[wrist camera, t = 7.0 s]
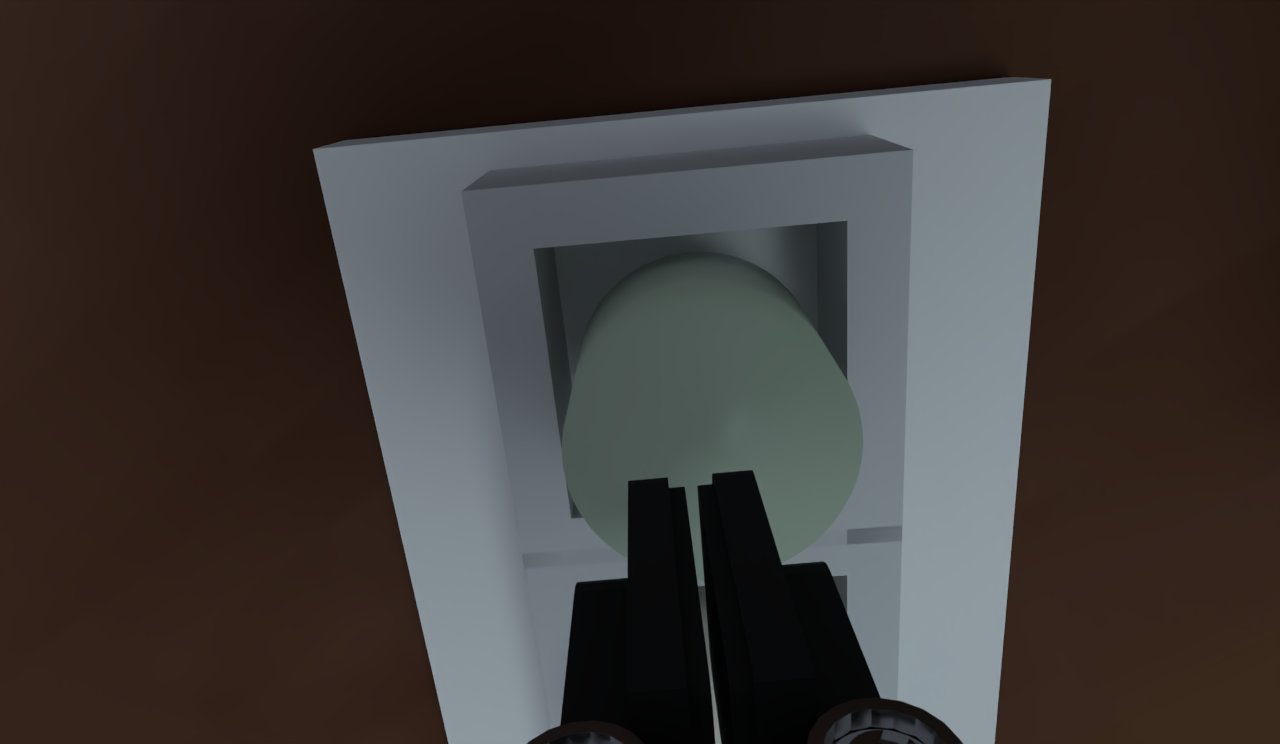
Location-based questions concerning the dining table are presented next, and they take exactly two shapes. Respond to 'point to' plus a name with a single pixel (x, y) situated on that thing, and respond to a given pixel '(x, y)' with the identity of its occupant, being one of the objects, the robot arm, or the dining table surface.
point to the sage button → (709, 400)
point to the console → (719, 223)
